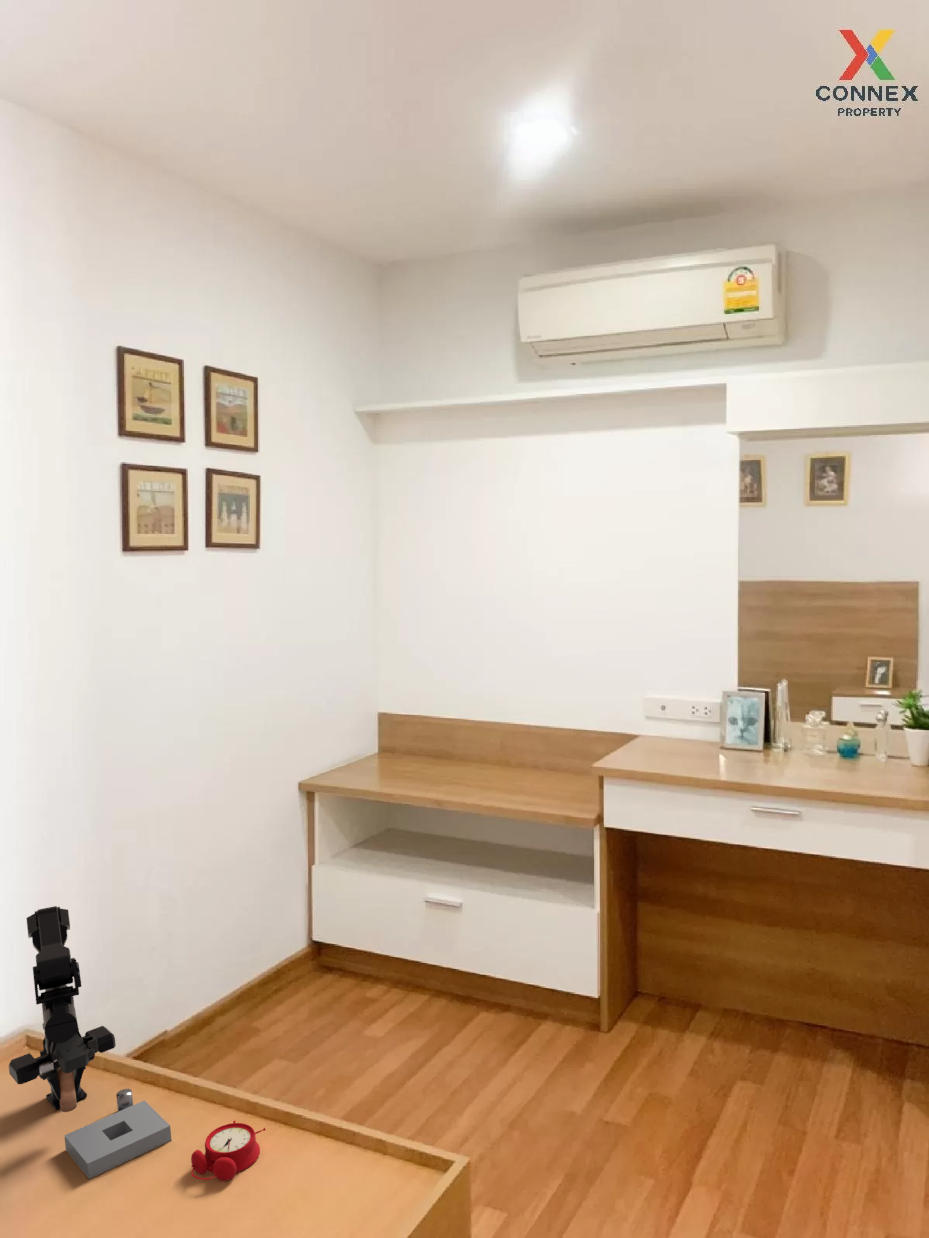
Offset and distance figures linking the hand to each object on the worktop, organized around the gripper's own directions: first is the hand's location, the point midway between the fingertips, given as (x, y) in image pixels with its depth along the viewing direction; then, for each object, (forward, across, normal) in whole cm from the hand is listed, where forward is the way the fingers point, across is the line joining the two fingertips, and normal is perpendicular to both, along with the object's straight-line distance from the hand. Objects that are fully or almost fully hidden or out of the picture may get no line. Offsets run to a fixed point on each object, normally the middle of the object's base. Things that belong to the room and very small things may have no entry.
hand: (67, 1094), depth 197 cm
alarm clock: (+9, +18, -30) cm, 36 cm away
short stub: (+8, +11, 0) cm, 14 cm away
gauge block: (+8, +6, -10) cm, 14 cm away
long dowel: (+3, 0, 0) cm, 3 cm away
